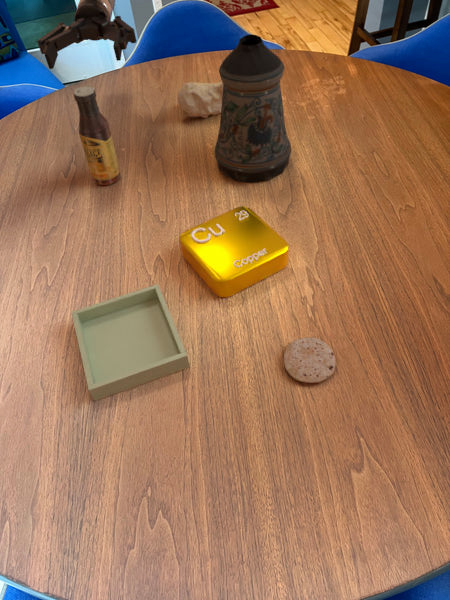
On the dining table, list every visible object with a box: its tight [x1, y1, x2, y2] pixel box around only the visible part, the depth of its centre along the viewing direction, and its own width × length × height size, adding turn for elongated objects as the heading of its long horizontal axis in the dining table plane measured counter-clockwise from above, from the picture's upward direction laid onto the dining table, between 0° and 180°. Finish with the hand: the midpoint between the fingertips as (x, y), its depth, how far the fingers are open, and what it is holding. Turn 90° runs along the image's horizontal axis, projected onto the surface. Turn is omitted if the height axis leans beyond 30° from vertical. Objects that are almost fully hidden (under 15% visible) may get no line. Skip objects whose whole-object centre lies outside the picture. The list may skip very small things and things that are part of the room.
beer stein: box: [214, 33, 292, 184], centre depth 97 cm, size 16×19×25 cm
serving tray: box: [70, 283, 191, 402], centre depth 74 cm, size 16×15×3 cm
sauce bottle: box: [73, 85, 121, 186], centre depth 98 cm, size 7×6×20 cm
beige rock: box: [177, 79, 223, 119], centre depth 119 cm, size 15×7×15 cm
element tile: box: [179, 205, 290, 299], centre depth 85 cm, size 15×15×5 cm
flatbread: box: [283, 336, 336, 384], centre depth 71 cm, size 8×8×1 cm
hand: (82, 57), depth 94 cm, fingers open, 13 cm apart
